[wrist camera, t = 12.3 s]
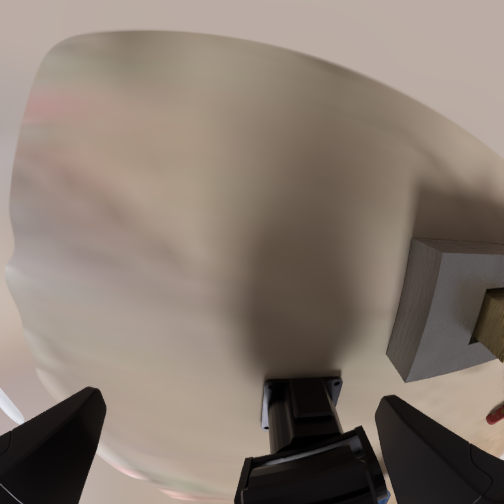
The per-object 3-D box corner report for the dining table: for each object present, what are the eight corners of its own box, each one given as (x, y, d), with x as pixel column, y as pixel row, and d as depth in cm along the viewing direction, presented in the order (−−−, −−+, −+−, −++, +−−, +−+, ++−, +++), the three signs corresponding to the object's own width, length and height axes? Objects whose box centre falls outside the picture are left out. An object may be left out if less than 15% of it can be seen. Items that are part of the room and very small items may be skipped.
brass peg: (474, 312, 20) (525, 353, 13) (449, 315, 20) (502, 363, 13) (483, 277, 19) (541, 312, 12) (459, 278, 19) (521, 318, 12)
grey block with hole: (498, 333, 21) (518, 350, 17) (386, 354, 21) (405, 383, 17) (522, 245, 19) (548, 256, 15) (411, 237, 18) (442, 252, 15)
